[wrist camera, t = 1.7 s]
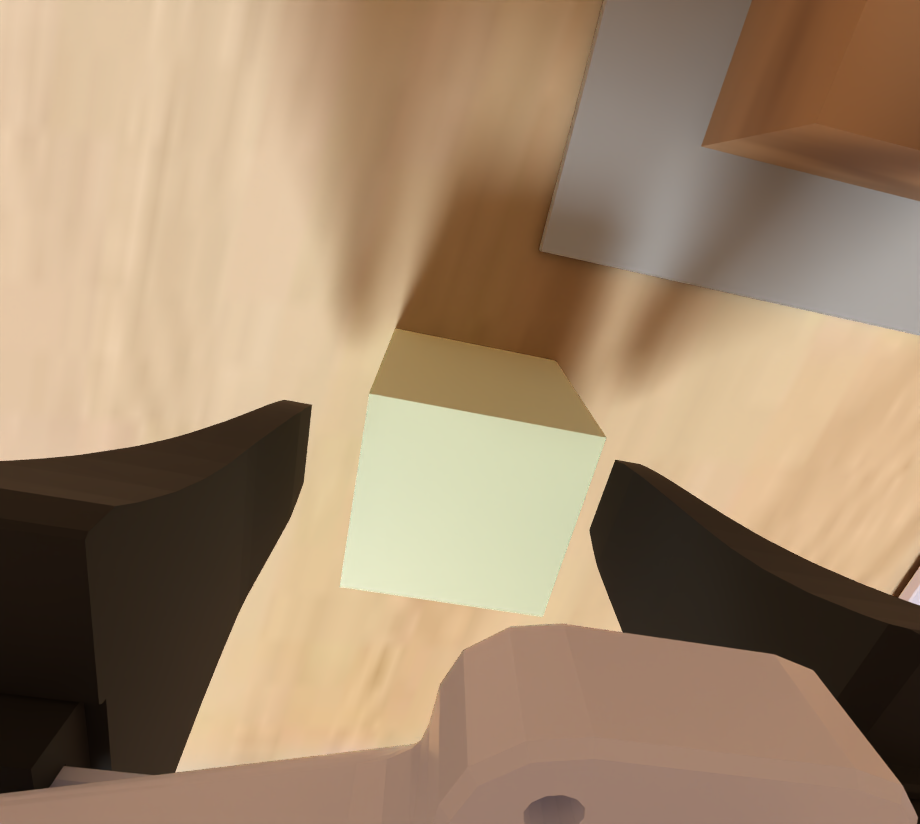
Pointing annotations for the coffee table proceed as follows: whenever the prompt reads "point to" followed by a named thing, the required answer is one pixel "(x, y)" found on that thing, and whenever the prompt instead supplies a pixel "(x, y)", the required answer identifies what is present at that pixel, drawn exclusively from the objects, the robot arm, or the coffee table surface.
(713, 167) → the build pad
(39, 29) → the coffee table surface
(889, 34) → the walnut block
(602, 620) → the coffee table surface
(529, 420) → the green block
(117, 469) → the robot arm
